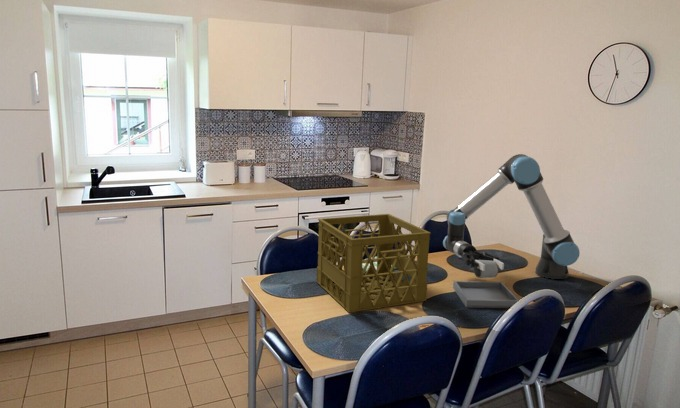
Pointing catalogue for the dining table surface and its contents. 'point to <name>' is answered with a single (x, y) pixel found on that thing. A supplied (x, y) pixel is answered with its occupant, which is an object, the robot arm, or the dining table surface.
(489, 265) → the ceramic mug
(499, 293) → the tray
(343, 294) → the milk crate
